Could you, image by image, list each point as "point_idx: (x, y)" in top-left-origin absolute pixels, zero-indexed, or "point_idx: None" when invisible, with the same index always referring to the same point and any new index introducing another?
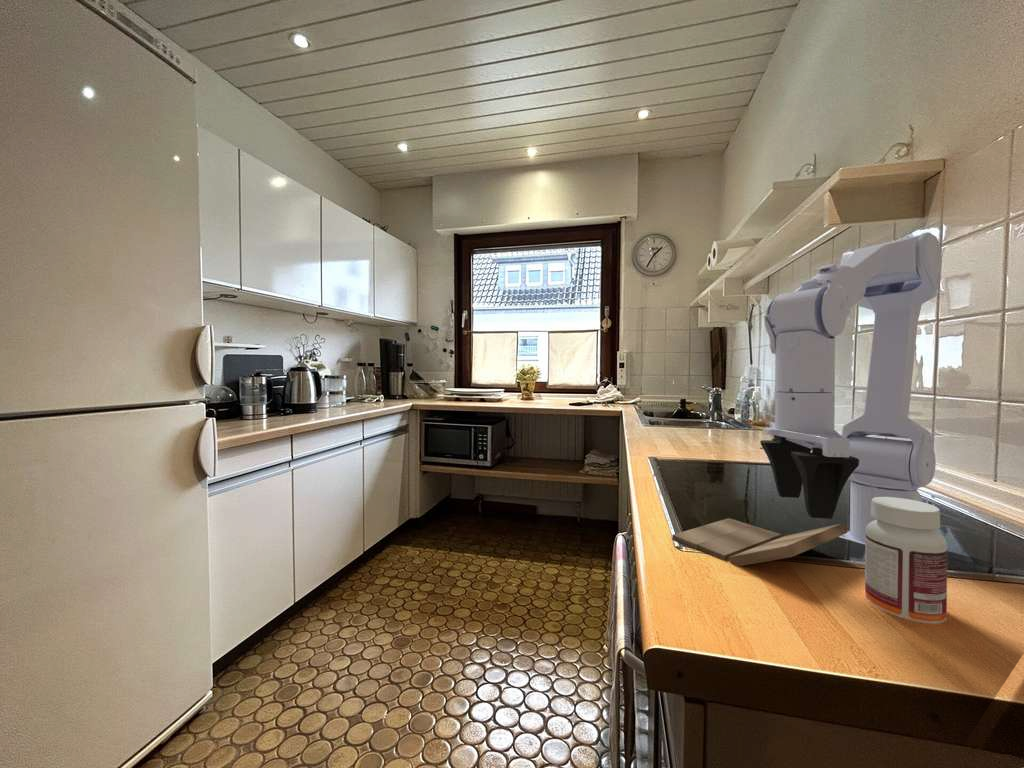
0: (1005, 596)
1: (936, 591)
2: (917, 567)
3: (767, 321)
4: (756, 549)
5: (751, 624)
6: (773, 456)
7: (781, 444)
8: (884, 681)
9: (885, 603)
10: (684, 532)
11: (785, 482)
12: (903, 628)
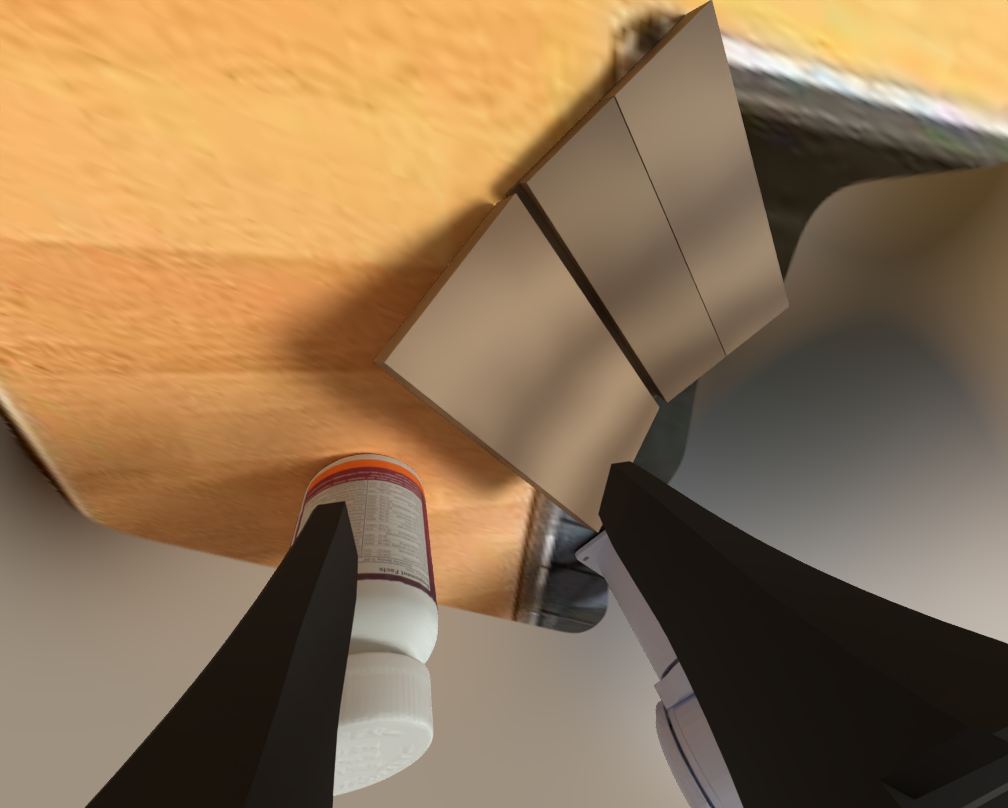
0: (469, 604)
1: None
2: None
3: None
4: (527, 295)
5: (70, 103)
6: (800, 632)
7: (881, 793)
8: None
9: (320, 480)
10: (723, 81)
11: (648, 527)
12: (290, 472)
